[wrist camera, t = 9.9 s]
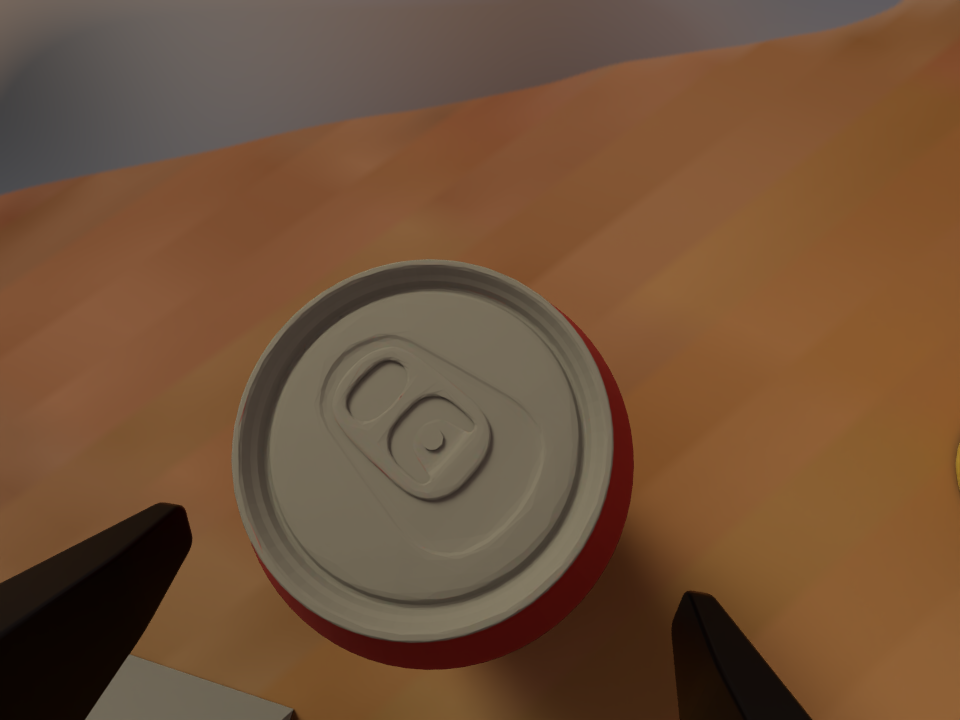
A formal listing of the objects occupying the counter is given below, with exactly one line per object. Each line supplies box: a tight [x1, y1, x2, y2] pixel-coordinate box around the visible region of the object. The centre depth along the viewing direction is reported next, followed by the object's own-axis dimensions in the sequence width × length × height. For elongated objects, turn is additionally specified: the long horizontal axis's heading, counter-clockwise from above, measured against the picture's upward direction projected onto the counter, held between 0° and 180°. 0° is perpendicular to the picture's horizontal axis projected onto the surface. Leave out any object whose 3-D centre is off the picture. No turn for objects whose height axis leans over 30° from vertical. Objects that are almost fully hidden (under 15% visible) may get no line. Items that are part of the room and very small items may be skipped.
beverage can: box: [232, 259, 634, 670], centre depth 13 cm, size 7×7×12 cm
